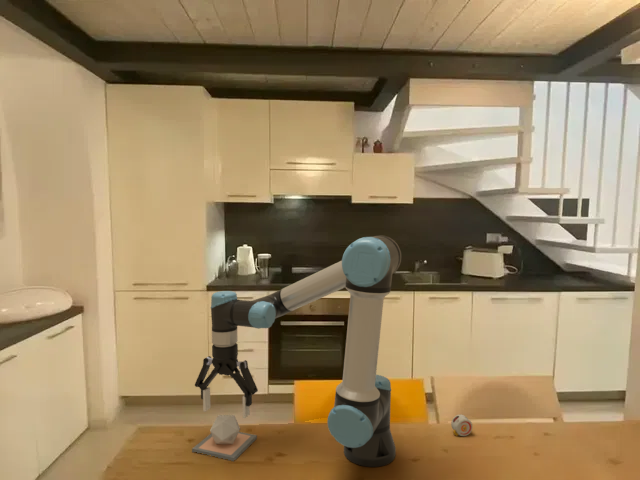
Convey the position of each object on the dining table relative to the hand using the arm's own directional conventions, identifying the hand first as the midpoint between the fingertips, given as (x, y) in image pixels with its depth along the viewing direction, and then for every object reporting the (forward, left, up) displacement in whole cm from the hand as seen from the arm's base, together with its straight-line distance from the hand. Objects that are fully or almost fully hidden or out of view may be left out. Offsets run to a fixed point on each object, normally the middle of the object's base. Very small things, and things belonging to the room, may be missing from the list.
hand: (226, 413), depth 139 cm
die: (0, 0, -9) cm, 9 cm away
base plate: (0, 0, -10) cm, 10 cm away
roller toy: (-67, -33, -10) cm, 75 cm away
